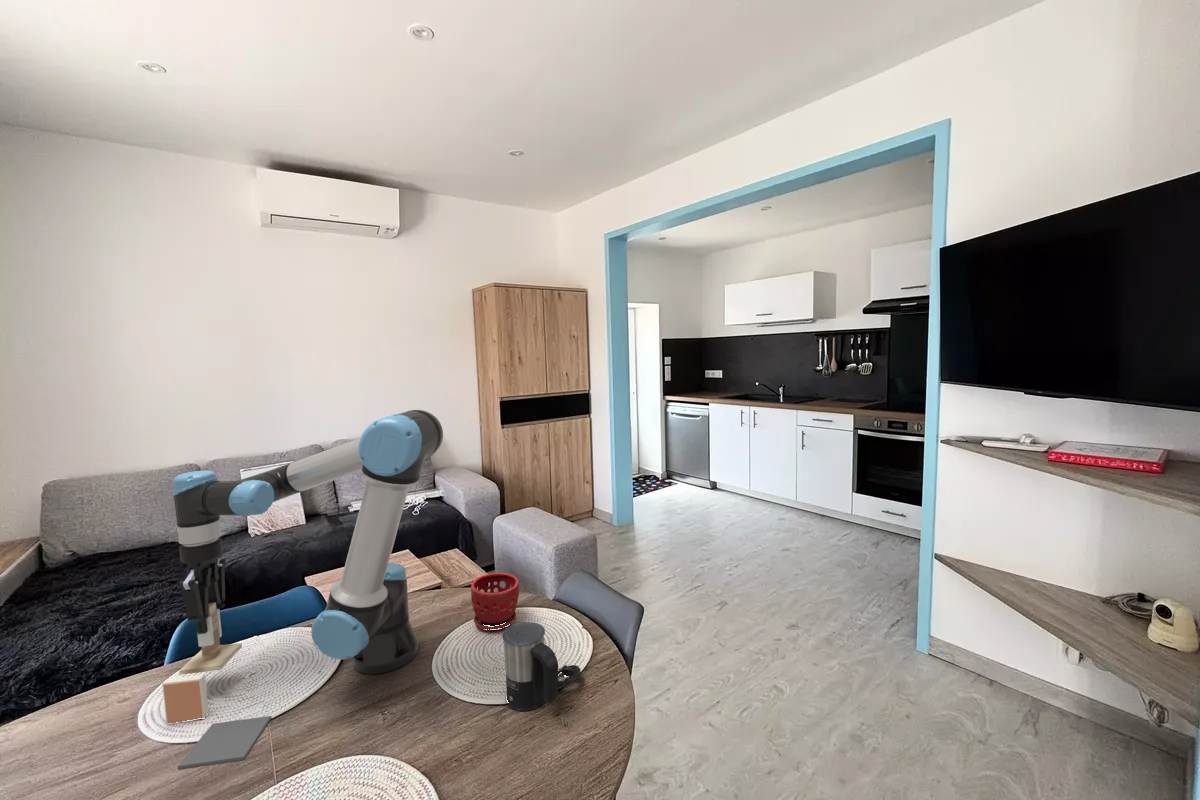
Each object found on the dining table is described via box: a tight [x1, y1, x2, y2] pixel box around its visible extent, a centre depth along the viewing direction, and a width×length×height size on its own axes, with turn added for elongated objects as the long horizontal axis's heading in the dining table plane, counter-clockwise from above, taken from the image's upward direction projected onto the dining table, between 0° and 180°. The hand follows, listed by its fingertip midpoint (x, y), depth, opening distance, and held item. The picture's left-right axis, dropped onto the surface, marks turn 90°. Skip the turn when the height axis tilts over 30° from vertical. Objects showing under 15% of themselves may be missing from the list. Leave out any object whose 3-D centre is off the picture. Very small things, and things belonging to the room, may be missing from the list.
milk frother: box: [501, 621, 582, 712], centre depth 111 cm, size 14×16×15 cm
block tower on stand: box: [178, 602, 243, 675], centre depth 114 cm, size 8×9×13 cm
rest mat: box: [177, 715, 272, 770], centre depth 99 cm, size 11×11×1 cm
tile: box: [162, 673, 210, 725], centre depth 105 cm, size 7×2×9 cm, turn 100°
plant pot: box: [470, 572, 520, 630], centre depth 141 cm, size 13×13×12 cm
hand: (210, 641), depth 114 cm, fingers closed on block tower on stand, 2 cm apart
